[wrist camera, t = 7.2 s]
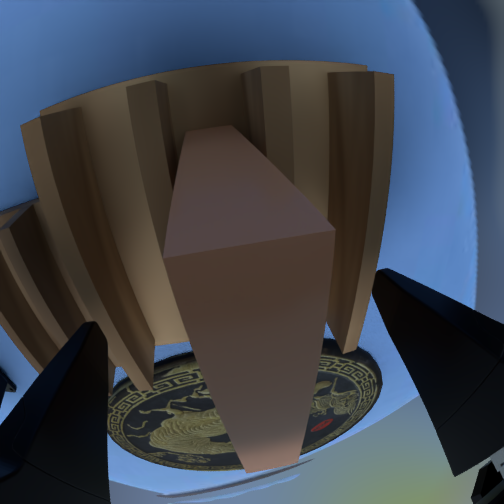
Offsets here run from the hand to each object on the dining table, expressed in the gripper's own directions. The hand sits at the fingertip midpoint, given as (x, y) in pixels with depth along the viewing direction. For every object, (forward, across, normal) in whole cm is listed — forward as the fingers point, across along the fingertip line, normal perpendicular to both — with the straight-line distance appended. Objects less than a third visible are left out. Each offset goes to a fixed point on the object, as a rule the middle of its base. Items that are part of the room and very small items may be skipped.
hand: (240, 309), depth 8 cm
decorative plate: (+7, +1, +24) cm, 25 cm away
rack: (+6, 0, 0) cm, 6 cm away
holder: (+6, +11, +3) cm, 13 cm away
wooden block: (+5, 0, 0) cm, 5 cm away
